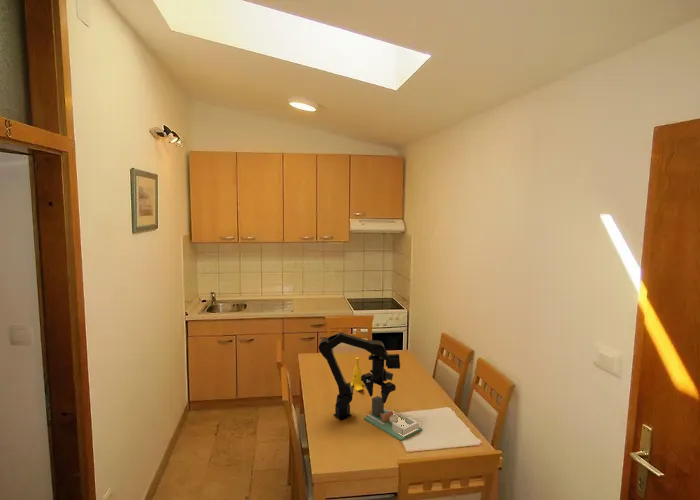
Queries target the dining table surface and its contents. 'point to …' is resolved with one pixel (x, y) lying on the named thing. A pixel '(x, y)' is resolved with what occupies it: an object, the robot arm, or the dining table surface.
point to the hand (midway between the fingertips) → (377, 399)
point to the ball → (393, 419)
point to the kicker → (380, 409)
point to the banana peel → (357, 377)
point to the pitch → (394, 426)
